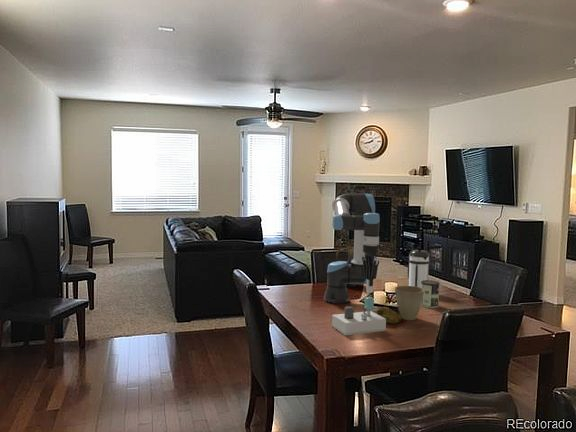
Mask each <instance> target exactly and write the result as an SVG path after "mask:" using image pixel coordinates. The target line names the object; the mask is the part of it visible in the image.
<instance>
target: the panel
mask: <svg viewBox="0 0 576 432" xmlns="http://www.w3.org/2000/svg"><path fill="white" fill-rule="evenodd" d="M363 312H365V313H367V311H359V312H354V318H353V319H345V318H344V314H345V313H340V314H339V313H337V314H331V315H332V318H331V320H332V321H331V327H332V326H333V327H334V328H333V327H332V328H333V329H335V330H336V329H337V330H336V331H338V332H339V333H341V334H342V335H344V336H351V335H361V334H371V333H379V332H386V331H387V330H386V328H387V327H386V325H387V322H386V319H385V318H383V317H382V316H380V315H378V314H377V312H374V311H373V310H371V311H370V317H367V320H365V321H364V320H361V314H362V313H363Z"/></svg>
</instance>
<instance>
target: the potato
mask: <svg viewBox="0 0 576 432" xmlns="http://www.w3.org/2000/svg"><path fill="white" fill-rule="evenodd" d="M376 314H378V315H380V316H382V317H383V318H385V319H386V324H392V325H394V324H398V323H401V322H402V321H403V319H402V315H401V314H400V312H396V311H394V310H392V309H391V308H389V307H387V306H381V307H378V308H377V310H376Z"/></svg>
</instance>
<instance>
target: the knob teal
mask: <svg viewBox="0 0 576 432" xmlns="http://www.w3.org/2000/svg"><path fill="white" fill-rule="evenodd" d="M374 301H375V299H374V297H372V296H365V297H364V306H363V307H364V309H365V310H366V309H367V310H366V312H367V317H370V311H372V310H373V309H374Z"/></svg>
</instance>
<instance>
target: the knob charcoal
mask: <svg viewBox="0 0 576 432" xmlns="http://www.w3.org/2000/svg"><path fill="white" fill-rule="evenodd" d="M354 311H355V308H354V307H353V306H345V307H344V313H343V314H344V318H345V319H353V318H354V313H355V312H354Z"/></svg>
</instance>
